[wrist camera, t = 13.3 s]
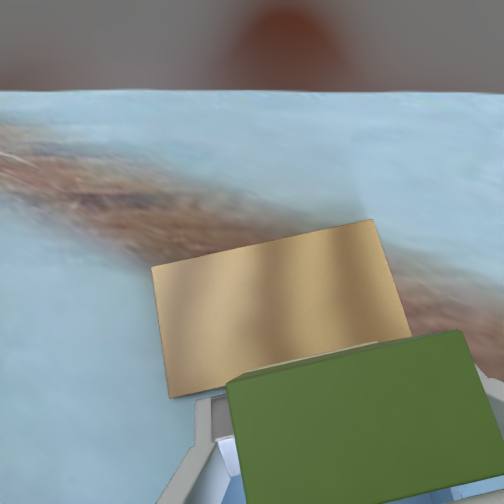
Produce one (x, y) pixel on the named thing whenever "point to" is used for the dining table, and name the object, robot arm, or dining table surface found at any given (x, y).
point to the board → (274, 304)
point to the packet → (365, 423)
